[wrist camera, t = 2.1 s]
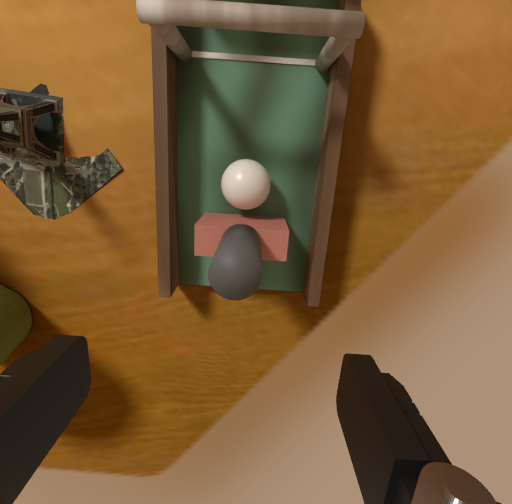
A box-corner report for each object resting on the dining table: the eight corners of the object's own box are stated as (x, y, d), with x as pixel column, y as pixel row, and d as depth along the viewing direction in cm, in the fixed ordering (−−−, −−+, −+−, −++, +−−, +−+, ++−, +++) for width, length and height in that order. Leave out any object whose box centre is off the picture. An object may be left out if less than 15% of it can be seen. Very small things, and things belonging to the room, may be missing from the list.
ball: (271, 160, 27) (273, 161, 23) (268, 206, 28) (269, 215, 25) (224, 156, 27) (219, 157, 23) (223, 203, 28) (217, 211, 24)
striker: (284, 214, 28) (300, 254, 17) (281, 246, 29) (294, 303, 18) (205, 208, 28) (171, 245, 17) (204, 241, 29) (171, 296, 18)
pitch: (349, -12, 24) (405, -114, 15) (311, 287, 32) (332, 343, 23) (166, -26, 24) (109, -137, 15) (171, 278, 32) (135, 331, 22)
